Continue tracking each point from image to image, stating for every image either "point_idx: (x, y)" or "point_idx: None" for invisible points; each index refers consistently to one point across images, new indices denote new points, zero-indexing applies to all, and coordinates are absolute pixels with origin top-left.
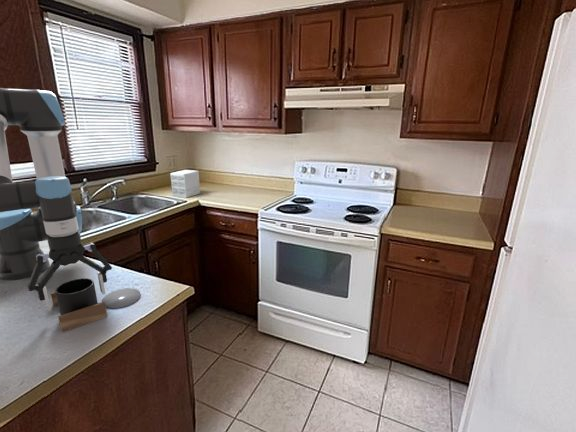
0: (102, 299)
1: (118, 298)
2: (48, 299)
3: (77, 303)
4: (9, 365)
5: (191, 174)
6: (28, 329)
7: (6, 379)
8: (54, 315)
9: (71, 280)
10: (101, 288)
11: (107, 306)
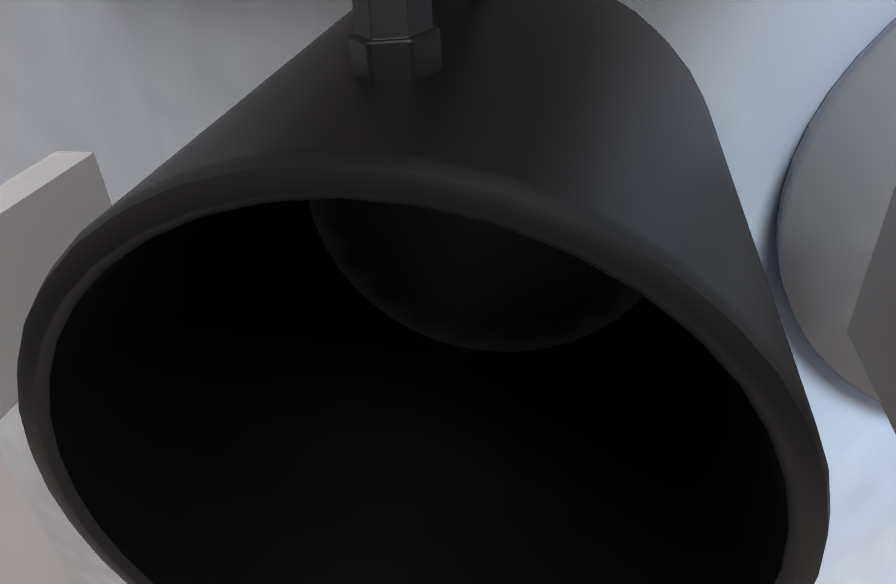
0: (851, 89)
1: None
2: (12, 398)
3: (421, 533)
4: (47, 501)
5: None
6: (4, 158)
7: (76, 579)
8: (205, 27)
9: (327, 196)
10: (891, 399)
11: (794, 315)
